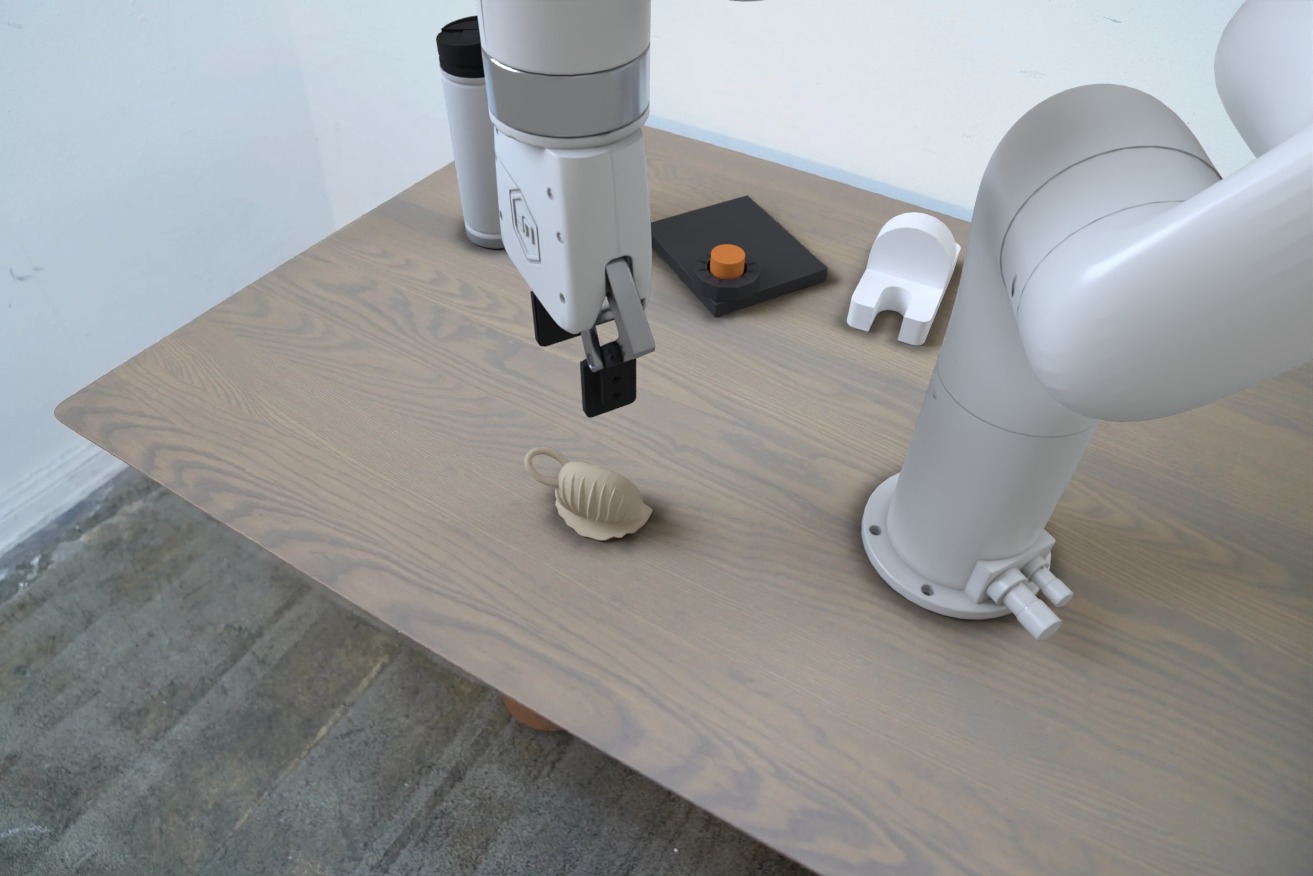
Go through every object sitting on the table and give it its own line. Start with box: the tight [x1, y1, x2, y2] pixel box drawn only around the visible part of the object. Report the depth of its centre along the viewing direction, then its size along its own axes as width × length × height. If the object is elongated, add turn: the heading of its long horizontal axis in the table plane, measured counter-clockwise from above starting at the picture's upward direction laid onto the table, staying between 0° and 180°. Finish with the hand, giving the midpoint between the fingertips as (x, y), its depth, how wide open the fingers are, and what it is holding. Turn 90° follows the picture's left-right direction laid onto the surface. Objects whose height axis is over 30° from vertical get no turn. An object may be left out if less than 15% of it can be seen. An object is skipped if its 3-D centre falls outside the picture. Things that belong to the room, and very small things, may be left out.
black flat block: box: [651, 195, 829, 318], centre depth 84 cm, size 14×12×3 cm
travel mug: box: [435, 15, 505, 250], centre depth 81 cm, size 6×7×20 cm
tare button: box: [710, 244, 745, 279], centre depth 79 cm, size 3×3×2 cm
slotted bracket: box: [846, 211, 962, 346], centre depth 79 cm, size 13×7×8 cm, turn 155°
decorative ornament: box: [523, 446, 654, 542], centre depth 62 cm, size 4×8×5 cm, turn 66°
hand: (584, 369), depth 54 cm, fingers open, 6 cm apart
